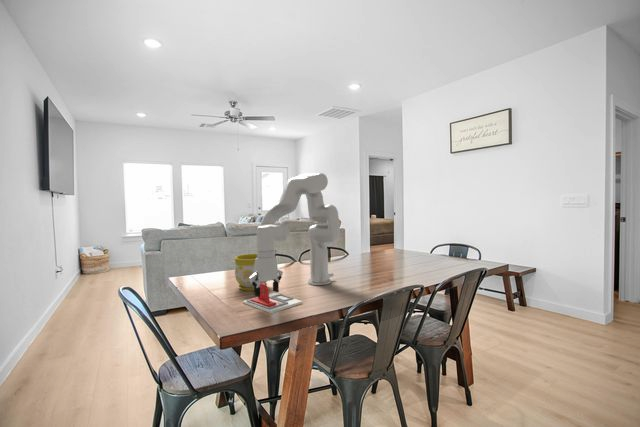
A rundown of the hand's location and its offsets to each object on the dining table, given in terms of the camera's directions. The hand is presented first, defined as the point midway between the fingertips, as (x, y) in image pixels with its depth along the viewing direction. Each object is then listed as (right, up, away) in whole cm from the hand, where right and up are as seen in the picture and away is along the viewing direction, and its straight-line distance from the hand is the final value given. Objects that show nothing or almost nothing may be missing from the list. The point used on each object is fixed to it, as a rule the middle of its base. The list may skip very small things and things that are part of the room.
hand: (266, 293), depth 144 cm
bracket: (-1, -4, -1) cm, 4 cm away
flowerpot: (-12, -4, +29) cm, 32 cm away
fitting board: (+2, -5, +2) cm, 6 cm away
